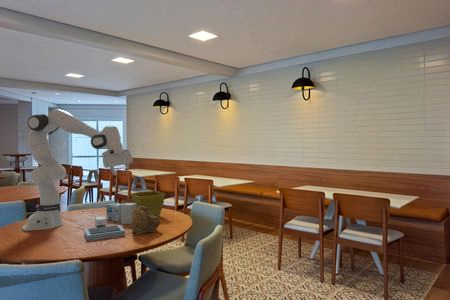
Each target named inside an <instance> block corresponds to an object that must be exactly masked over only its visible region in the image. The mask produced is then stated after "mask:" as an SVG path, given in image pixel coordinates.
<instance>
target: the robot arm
mask: <svg viewBox="0 0 450 300" xmlns="http://www.w3.org/2000/svg"><path fill="white" fill-rule="evenodd" d="M27 126H28V128H29V129H30V131H28V133H27V141H28V142H27V143H28V146H29V148H30V151H31V154H32V157H33V159H34V161H35V162H37V163H38V164H39V165H40V166H38V167H35V168H34V169H33V170H32V171H31V172H30V180H31V181H32V182H33V183H34V184H35V185H36V186H37V189H38V191H39V202H40V203H39V204H36V206H35V208H36V211H35V212H34V213H32V214H31V215H30V216H28V218H27V220H26V224H25V225H23V226H22V231H24V232H29V230H30V231H40V230H41V231H42V230H52V229H54V228H57V227H60V226H61V227H62V225H64V224H63V221H62V215H61V211H62V209H61V207H62V205H61V202H60V201H61V200H60V191H59V189H58V188H57V187H56V186H55V182H59V181H61V180H63V179H64V178H65V177H66V176H67V170H66V168H65V167H64V165H62V164H60V162H59V161H58V160H57V158H56V157H55V156H54V153H53V151H52V148H51V146H50V142H49V139H48V135H49V136H50V135H52V134H53V133H55V132H57V131H58V130H59V129H61V130H63V131H64V132H67V133H69V134H73V135H74V134H76V135H84V136H87V137H88V138H91V139H90V145H91V146H92V147H93V149H95V150H105V151H104V152H102V153H101V156H102V164H103V168H104V169H108V168H109V169H110V171H111V172H112V174H113V175H116V174H117V170H115V167H117V166H118V167H119V166H122V165H124V166H125V168H124V171H125V172H129V170H130V169H129V166H130V164H132V163H133V161H134V160H133V157H132V154H131V152H130V150H129V149H126V148H125V149H124V147H123V143H122V142H121V141H122V140H121V139H122V138H121V135H120V131H119V129H118V127H117V126H114V125H108V126H104V127H103V128H102V130H100V131H99V130H97V129H95V128H94V127H92V126H90V125H88V124H87V123H85V122H83V121H82V120H80V119H79V118H78V117H76V116H74V115H73V114H72V113H69V112H68V111H66V110H62V109H60V108H55V109H52V111H50V113H49V114H45V113H42V114H39V113H38V114H33V115H31V116H29V117H28V120H27Z"/></svg>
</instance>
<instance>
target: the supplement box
mask: <svg viewBox="0 0 450 300" xmlns="http://www.w3.org/2000/svg"><path fill="white" fill-rule="evenodd" d="M122 204H123V205H121V219H122V220H121V224H122V225H123V224H124V225H131V220H132V213H133V210H134V209H136V203H133V202H126V203H122Z"/></svg>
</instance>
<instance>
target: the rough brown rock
mask: <svg viewBox="0 0 450 300" xmlns="http://www.w3.org/2000/svg"><path fill="white" fill-rule="evenodd" d="M160 222H161V220H160V218H159V217H156V216H153V215H152V214H151V212H150V211H149V210H148V209H147V208H146V207H144V206H138V208H137V209H134V210H133V213H132V220H131V224H130V225H131V227H130V228H131V230H132V231H134V234H135V235H141V234H146V233H151V234H152V233H155V232H156V231H157V229H158V227H159V226H160V224H161V223H160Z"/></svg>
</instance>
